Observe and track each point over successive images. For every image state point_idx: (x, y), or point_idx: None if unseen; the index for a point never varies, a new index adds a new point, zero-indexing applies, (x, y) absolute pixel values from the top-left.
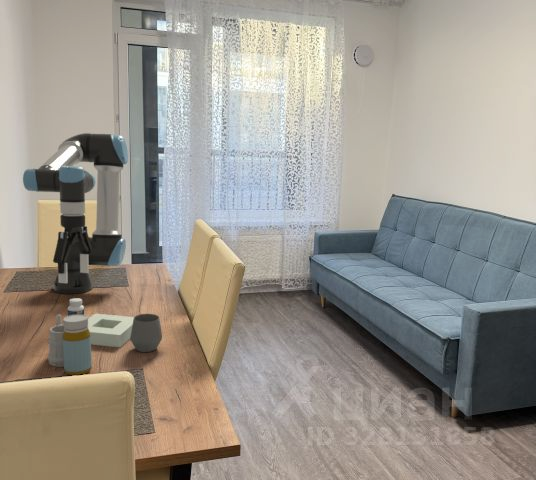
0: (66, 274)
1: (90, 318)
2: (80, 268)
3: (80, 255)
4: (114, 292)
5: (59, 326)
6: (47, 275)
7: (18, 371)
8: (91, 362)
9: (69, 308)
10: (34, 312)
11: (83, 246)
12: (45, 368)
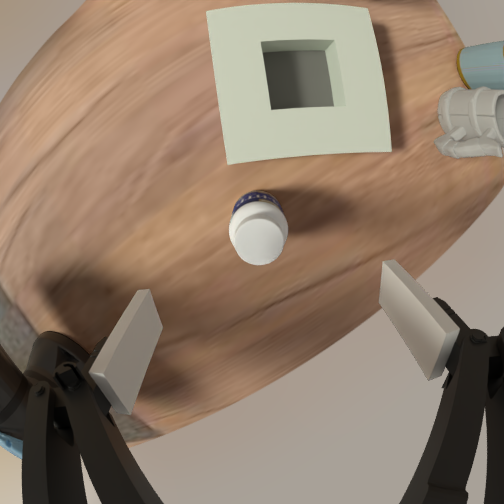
0: (417, 284)
1: (281, 149)
2: (156, 341)
3: (131, 404)
4: (24, 278)
5: (499, 132)
6: None
7: (493, 174)
8: (470, 46)
9: (284, 241)
10: (221, 356)
11: (119, 456)
12: None
